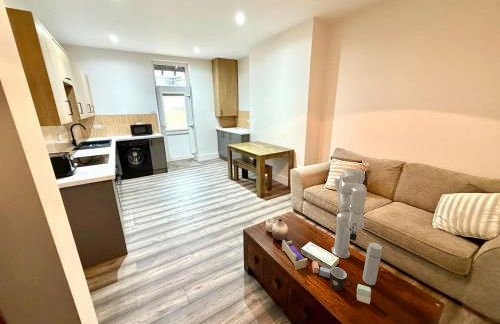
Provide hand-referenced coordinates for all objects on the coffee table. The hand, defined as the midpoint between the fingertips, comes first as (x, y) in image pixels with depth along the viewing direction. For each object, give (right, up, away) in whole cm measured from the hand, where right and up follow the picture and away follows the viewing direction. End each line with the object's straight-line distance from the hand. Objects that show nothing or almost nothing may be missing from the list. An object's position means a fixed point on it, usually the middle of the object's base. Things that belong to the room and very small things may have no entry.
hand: (352, 235), depth 119 cm
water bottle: (+13, -30, +6) cm, 33 cm away
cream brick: (+2, -33, -7) cm, 34 cm away
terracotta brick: (-18, -28, +14) cm, 36 cm away
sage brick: (+2, -29, -8) cm, 31 cm away
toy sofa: (-30, -25, +24) cm, 46 cm away
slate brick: (-13, -29, +9) cm, 33 cm away
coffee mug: (-9, -32, -1) cm, 33 cm away
